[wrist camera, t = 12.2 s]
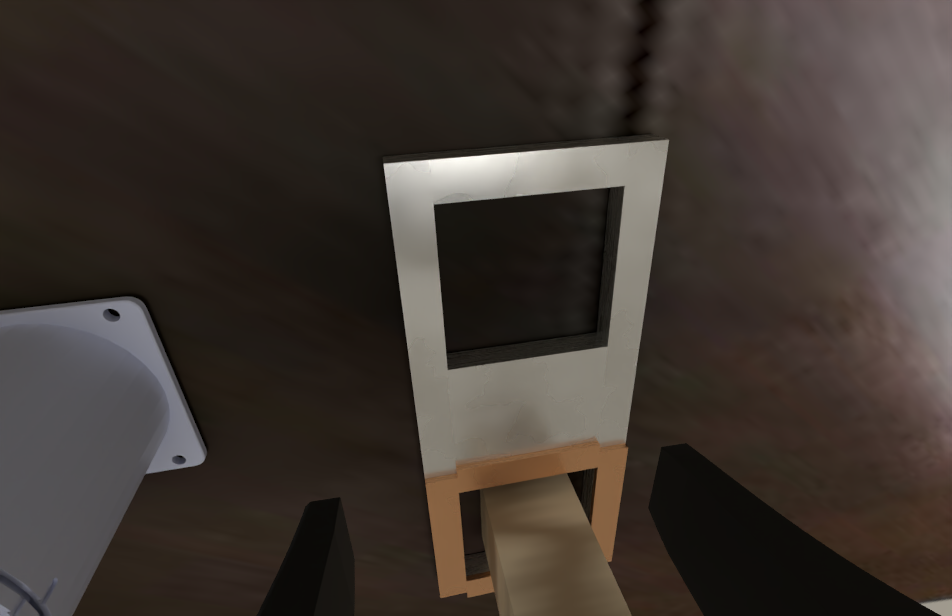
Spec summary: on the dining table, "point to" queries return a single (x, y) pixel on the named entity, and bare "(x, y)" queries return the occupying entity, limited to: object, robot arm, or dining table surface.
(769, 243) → the dining table surface
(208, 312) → the dining table surface
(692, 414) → the dining table surface
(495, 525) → the birch peg
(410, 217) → the rail
